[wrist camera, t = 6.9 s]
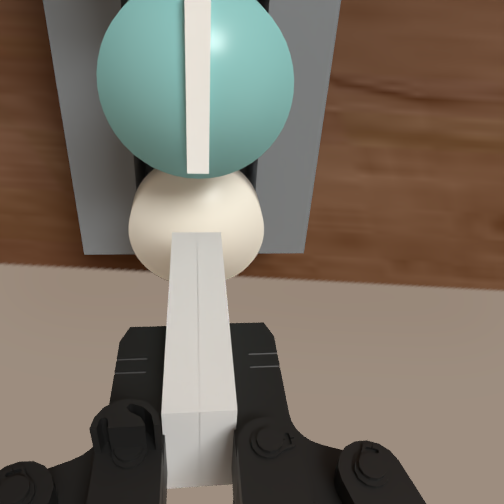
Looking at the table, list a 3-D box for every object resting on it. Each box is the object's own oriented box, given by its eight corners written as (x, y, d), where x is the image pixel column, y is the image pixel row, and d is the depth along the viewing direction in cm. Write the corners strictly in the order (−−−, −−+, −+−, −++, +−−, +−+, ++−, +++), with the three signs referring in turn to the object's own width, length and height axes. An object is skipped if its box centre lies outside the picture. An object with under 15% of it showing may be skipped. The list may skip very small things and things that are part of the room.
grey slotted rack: (101, 201, 25) (84, 254, 21) (37, -294, 15) (-18, -373, 11) (286, 202, 27) (303, 253, 23) (339, -257, 17) (387, -316, 12)
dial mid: (131, 106, 19) (106, 182, 13) (119, -45, 16) (81, -29, 10) (258, 110, 19) (285, 184, 14) (269, -35, 16) (308, -15, 11)
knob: (146, 208, 24) (133, 287, 19) (139, 110, 21) (122, 170, 16) (245, 208, 25) (259, 285, 19) (250, 113, 22) (269, 172, 17)
